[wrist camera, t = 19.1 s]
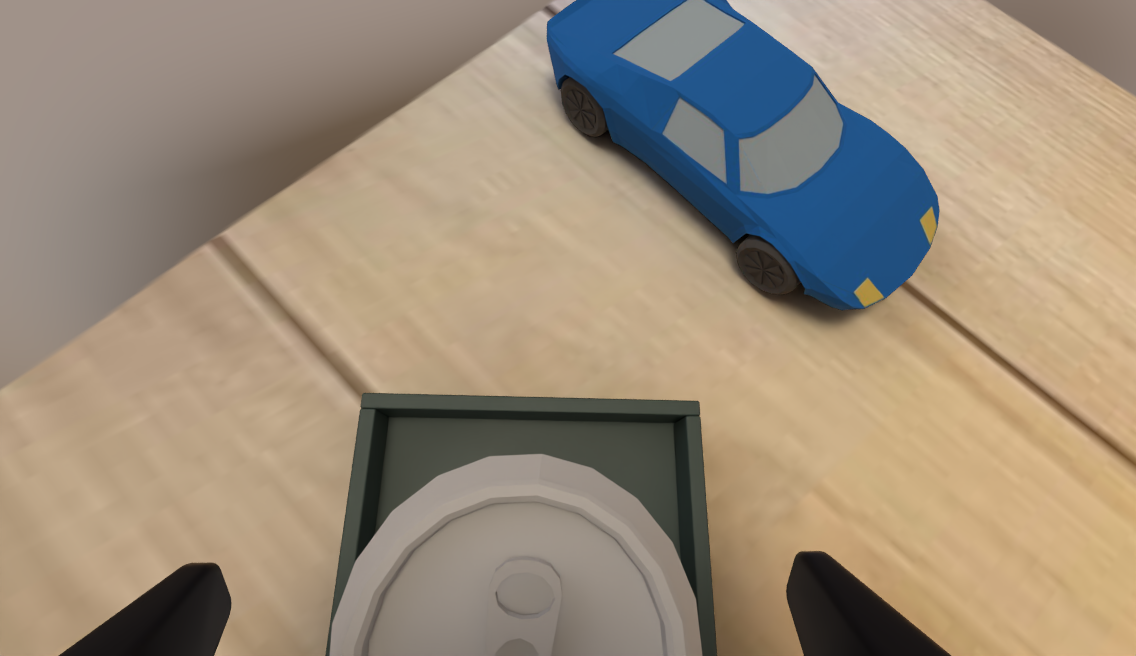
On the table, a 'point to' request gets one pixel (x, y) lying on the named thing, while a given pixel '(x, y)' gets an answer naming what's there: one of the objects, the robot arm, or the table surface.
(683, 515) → the tray
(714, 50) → the toy car
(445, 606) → the can
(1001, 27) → the table surface
